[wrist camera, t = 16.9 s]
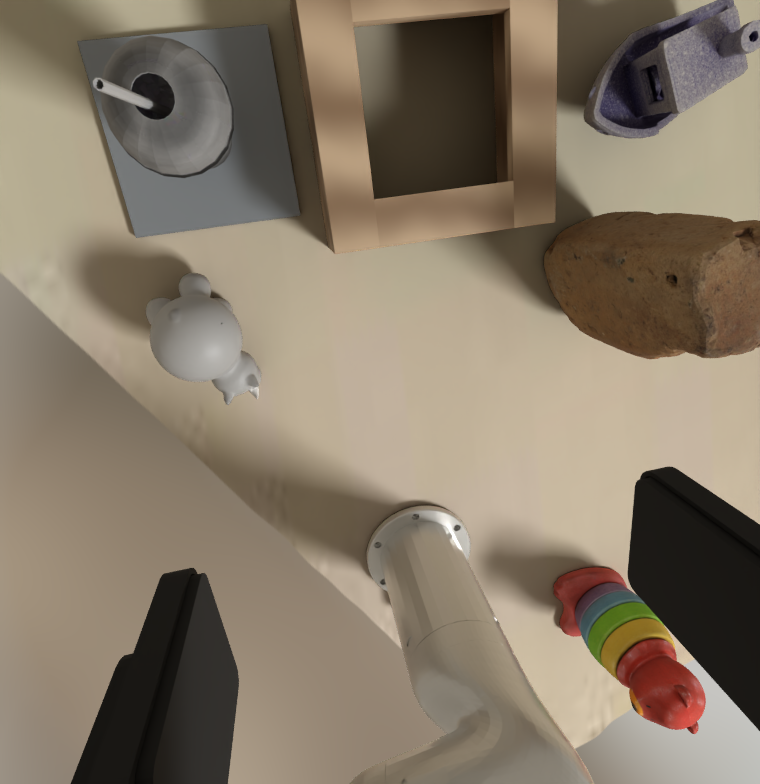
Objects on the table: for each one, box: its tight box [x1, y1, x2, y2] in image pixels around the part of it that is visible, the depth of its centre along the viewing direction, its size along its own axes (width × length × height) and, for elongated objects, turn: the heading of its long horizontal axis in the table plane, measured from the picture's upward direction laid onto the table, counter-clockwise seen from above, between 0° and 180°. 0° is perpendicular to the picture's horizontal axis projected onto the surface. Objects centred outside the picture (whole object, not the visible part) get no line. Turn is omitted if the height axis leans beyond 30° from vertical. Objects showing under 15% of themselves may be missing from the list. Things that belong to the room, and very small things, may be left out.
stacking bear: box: [554, 567, 706, 734], centre depth 58 cm, size 11×10×18 cm
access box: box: [290, 0, 558, 254], centre depth 38 cm, size 18×18×8 cm
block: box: [544, 212, 760, 359], centre depth 40 cm, size 11×8×20 cm
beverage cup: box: [93, 35, 234, 178], centre depth 30 cm, size 7×7×20 cm
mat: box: [77, 24, 300, 238], centre depth 39 cm, size 14×14×1 cm
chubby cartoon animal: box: [146, 273, 261, 405], centre depth 42 cm, size 7×12×8 cm, turn 30°
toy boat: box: [584, 0, 760, 138], centre depth 38 cm, size 15×8×13 cm, turn 118°
